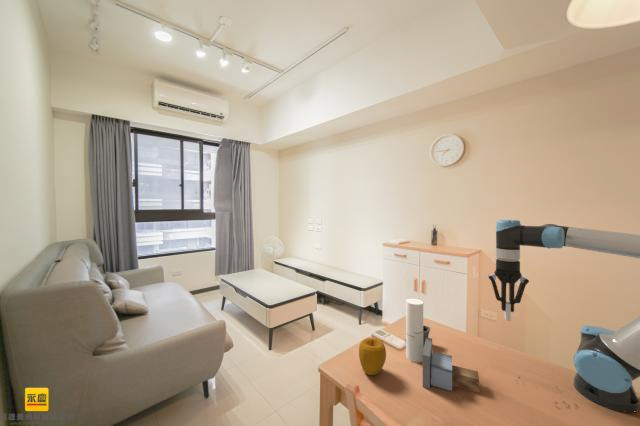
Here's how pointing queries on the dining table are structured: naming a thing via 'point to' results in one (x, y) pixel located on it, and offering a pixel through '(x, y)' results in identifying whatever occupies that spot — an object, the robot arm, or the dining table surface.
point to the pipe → (425, 333)
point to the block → (441, 370)
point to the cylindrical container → (414, 330)
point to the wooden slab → (465, 378)
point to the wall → (427, 362)
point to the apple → (372, 355)
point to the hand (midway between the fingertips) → (507, 319)
